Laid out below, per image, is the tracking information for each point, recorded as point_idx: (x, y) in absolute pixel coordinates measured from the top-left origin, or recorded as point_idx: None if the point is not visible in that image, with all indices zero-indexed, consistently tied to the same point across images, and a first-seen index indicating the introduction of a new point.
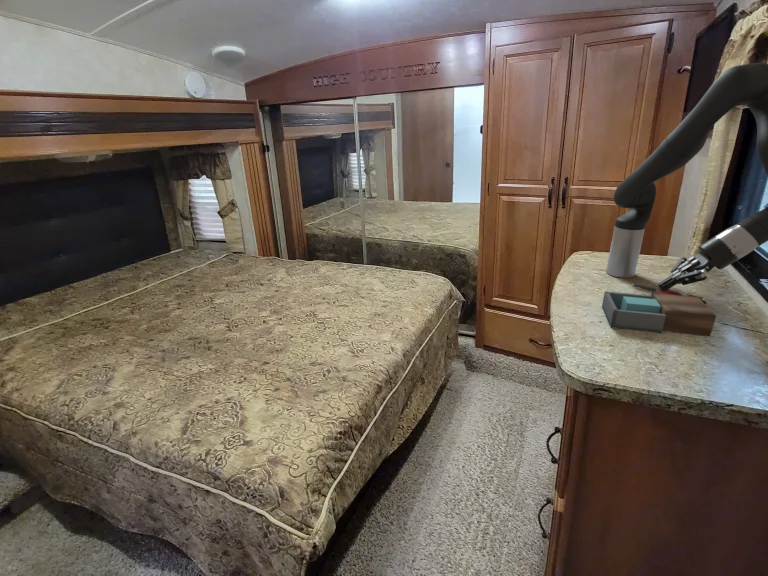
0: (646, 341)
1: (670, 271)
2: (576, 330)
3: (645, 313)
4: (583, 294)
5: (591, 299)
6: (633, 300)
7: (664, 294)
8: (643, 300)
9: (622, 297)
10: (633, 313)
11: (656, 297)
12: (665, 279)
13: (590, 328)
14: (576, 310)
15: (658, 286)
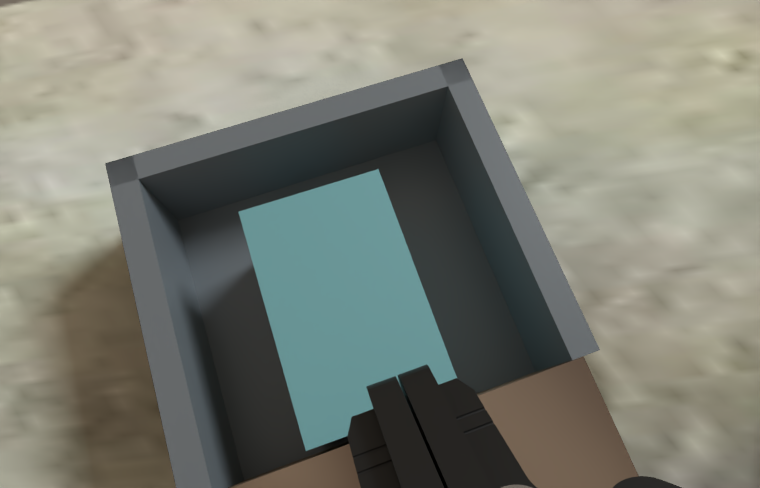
0: (48, 417)
1: (629, 481)
2: (34, 80)
3: (152, 357)
4: (579, 11)
5: (528, 59)
6: (327, 244)
7: (625, 450)
8: (370, 309)
9: (479, 179)
10: (136, 282)
11: (494, 394)
12: (446, 437)
13: (93, 130)
14: (308, 29)
15: (399, 382)
